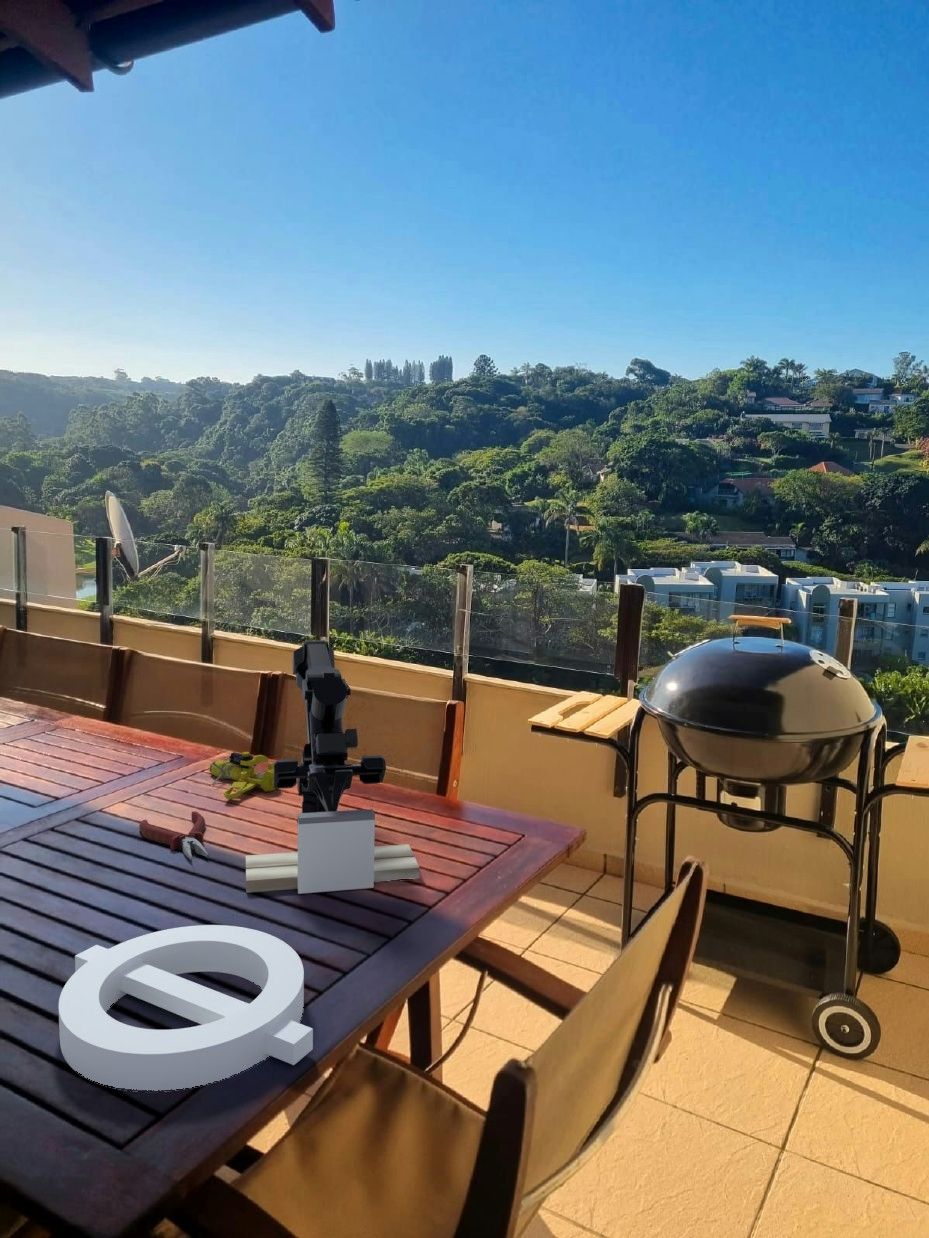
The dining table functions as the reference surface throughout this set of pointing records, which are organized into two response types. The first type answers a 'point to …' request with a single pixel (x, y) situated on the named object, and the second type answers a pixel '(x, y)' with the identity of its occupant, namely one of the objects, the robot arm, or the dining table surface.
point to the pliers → (178, 836)
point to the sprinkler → (243, 773)
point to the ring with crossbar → (183, 1008)
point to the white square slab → (335, 850)
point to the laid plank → (283, 868)
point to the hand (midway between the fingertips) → (332, 818)
